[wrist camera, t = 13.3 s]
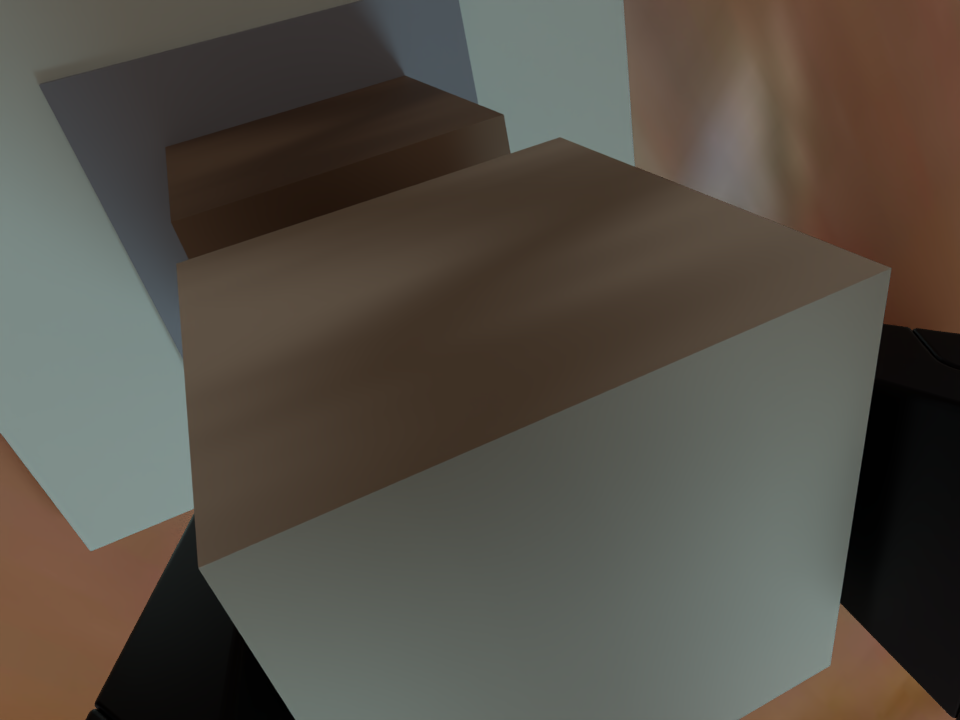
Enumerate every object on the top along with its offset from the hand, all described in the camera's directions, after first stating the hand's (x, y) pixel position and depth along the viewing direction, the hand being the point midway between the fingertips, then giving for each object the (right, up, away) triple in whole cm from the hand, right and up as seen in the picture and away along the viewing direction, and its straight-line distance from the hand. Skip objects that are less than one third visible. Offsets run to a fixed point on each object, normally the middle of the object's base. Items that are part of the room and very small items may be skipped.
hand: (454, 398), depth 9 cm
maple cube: (0, 0, +1) cm, 1 cm away
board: (-4, +4, +7) cm, 9 cm away
